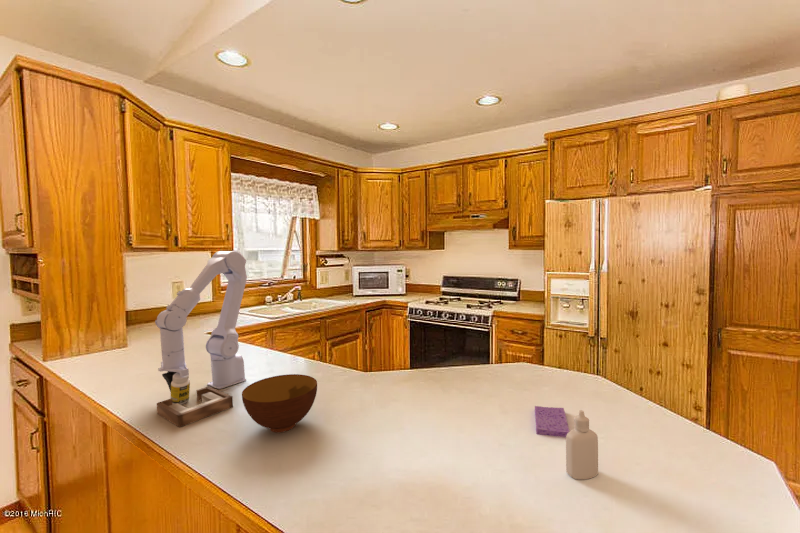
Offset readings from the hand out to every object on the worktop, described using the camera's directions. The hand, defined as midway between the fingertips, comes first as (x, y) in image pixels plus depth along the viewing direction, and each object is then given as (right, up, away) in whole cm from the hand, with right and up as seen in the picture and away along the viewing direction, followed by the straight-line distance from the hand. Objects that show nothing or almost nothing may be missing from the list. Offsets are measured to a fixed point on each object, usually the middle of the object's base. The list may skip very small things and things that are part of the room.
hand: (176, 395), depth 110 cm
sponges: (+103, 0, -22) cm, 105 cm away
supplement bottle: (+2, -1, -1) cm, 3 cm away
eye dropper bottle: (+101, 0, -41) cm, 109 cm away
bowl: (+38, -1, -18) cm, 42 cm away
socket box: (+10, -2, -7) cm, 12 cm away
